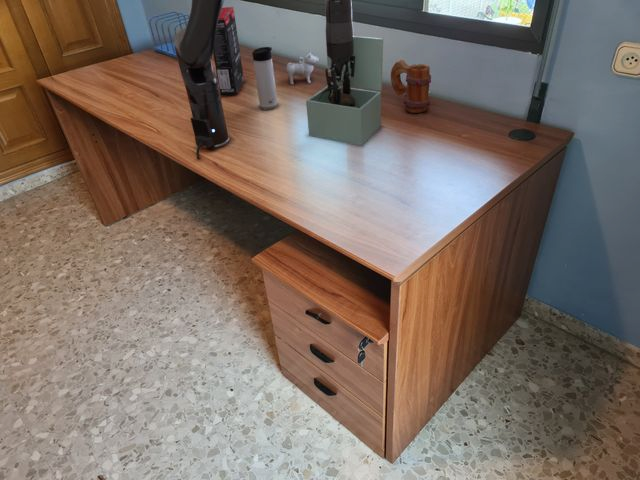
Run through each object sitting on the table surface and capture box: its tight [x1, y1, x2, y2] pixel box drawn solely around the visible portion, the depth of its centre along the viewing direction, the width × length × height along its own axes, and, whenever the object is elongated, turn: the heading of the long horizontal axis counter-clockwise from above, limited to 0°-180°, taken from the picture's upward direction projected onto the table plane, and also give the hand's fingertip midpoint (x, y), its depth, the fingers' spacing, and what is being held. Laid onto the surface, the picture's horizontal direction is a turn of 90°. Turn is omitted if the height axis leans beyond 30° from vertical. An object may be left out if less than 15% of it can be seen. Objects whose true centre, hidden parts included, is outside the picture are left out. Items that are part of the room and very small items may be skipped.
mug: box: [390, 59, 432, 114], centre depth 154 cm, size 15×8×15 cm, turn 47°
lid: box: [326, 35, 384, 92], centre depth 143 cm, size 15×18×6 cm
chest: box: [305, 85, 382, 147], centre depth 145 cm, size 14×18×11 cm
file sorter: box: [148, 11, 190, 59], centre depth 225 cm, size 25×17×15 cm
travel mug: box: [251, 46, 279, 111], centre depth 161 cm, size 6×7×20 cm
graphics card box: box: [212, 6, 245, 96], centre depth 176 cm, size 17×7×27 cm, turn 178°
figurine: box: [319, 88, 360, 108], centre depth 141 cm, size 14×4×9 cm, turn 130°
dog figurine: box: [285, 51, 320, 85], centre depth 182 cm, size 5×13×11 cm, turn 95°
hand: (341, 97), depth 140 cm, fingers closed on figurine, 5 cm apart
